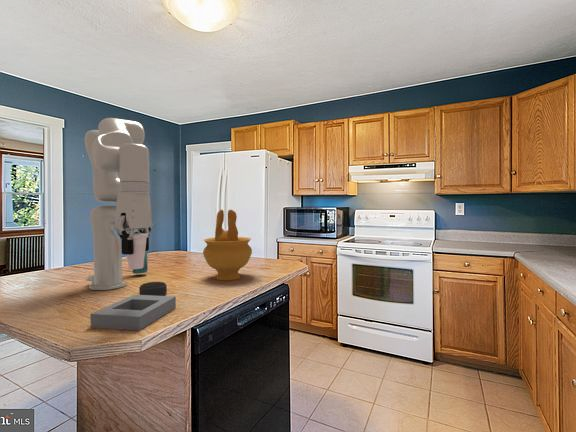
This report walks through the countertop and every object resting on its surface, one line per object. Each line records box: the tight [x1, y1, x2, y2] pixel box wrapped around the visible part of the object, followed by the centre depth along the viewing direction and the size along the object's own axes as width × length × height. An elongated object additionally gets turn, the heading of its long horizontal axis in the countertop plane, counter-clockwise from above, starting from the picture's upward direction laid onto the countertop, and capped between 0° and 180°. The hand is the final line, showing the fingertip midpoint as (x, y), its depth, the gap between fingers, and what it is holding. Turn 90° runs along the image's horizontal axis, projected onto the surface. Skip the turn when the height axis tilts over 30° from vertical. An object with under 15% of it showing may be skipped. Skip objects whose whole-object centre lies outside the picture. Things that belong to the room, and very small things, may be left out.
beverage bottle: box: [131, 231, 149, 275], centre depth 143 cm, size 6×7×20 cm
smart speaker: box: [138, 281, 168, 296], centre depth 112 cm, size 9×9×4 cm
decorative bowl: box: [202, 209, 253, 281], centre depth 138 cm, size 21×21×30 cm
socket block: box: [89, 294, 177, 331], centre depth 90 cm, size 14×18×4 cm
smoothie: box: [126, 230, 148, 270], centre depth 89 cm, size 6×6×14 cm
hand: (135, 251), depth 89 cm, fingers closed on smoothie, 6 cm apart
